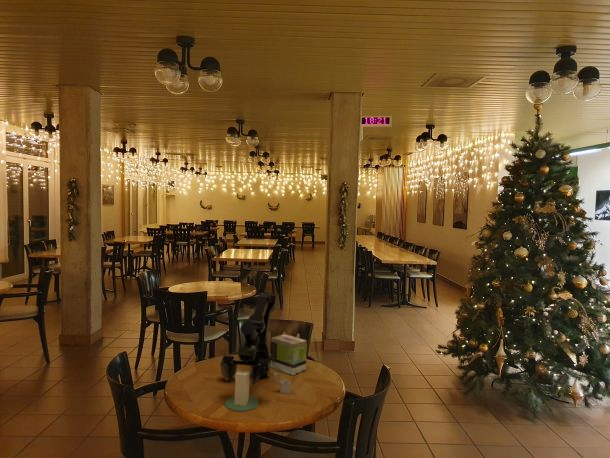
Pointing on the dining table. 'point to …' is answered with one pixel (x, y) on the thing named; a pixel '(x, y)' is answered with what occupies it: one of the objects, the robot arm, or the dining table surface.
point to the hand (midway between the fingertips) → (241, 383)
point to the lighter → (283, 384)
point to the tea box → (288, 354)
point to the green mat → (249, 406)
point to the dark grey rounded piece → (225, 371)
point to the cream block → (242, 387)
